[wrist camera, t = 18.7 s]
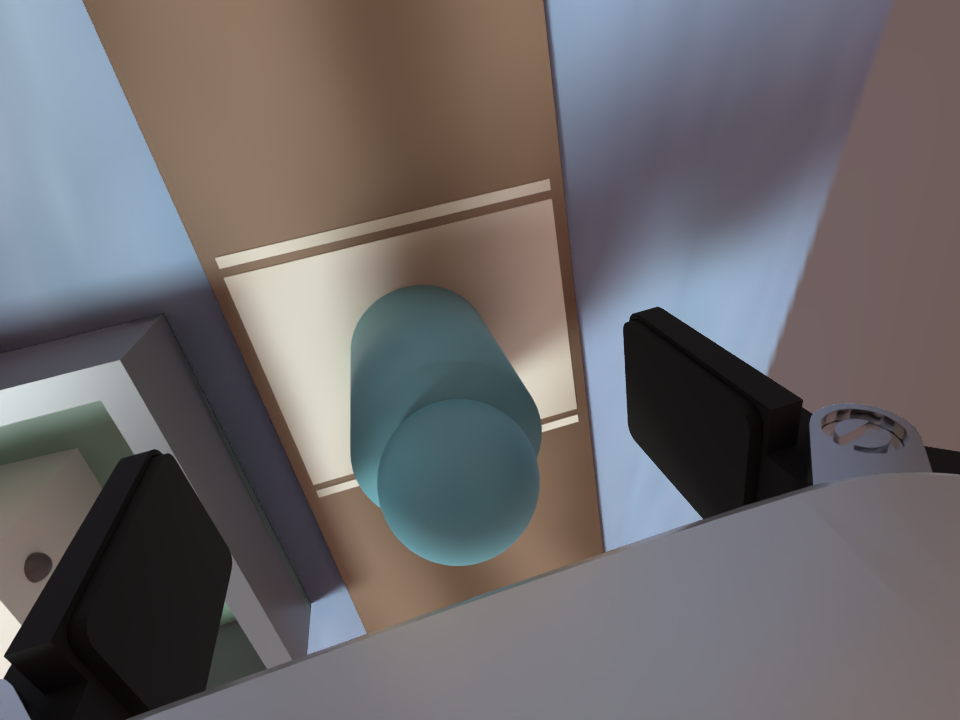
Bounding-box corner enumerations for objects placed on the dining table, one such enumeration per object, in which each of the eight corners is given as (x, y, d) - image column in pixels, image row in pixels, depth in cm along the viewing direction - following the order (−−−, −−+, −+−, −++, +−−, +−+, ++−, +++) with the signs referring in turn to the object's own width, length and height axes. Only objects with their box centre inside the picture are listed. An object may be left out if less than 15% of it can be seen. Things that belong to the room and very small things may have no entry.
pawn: (356, 417, 16) (360, 643, 9) (344, 288, 15) (337, 449, 8) (486, 404, 17) (578, 602, 10) (490, 281, 15) (603, 420, 9)
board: (372, 641, 21) (372, 647, 21) (-346, -964, 6) (-371, -1005, 6) (602, 566, 22) (605, 570, 22) (434, -949, 8) (437, -982, 7)
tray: (-31, 712, 18) (-96, 814, 16) (-342, 437, 13) (-523, 522, 10) (311, 605, 20) (304, 681, 17) (163, 313, 14) (119, 360, 11)
